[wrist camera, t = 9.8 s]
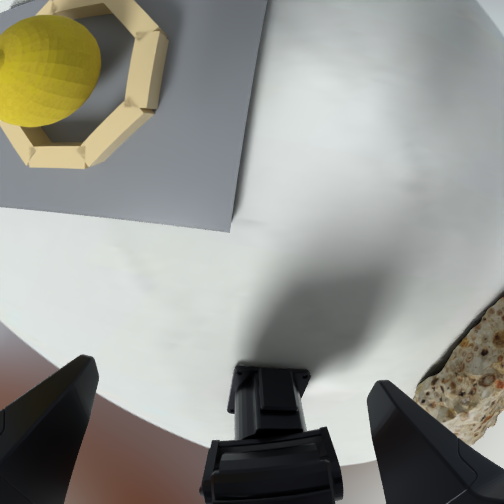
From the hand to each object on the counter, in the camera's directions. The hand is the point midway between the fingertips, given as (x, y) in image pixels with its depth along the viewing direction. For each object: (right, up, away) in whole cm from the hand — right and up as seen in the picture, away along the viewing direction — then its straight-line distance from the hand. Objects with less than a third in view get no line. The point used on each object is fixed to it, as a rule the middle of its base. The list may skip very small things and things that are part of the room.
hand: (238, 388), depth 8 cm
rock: (+27, -8, +18) cm, 33 cm away
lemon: (-9, +14, +5) cm, 18 cm away
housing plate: (-10, +14, +6) cm, 18 cm away
